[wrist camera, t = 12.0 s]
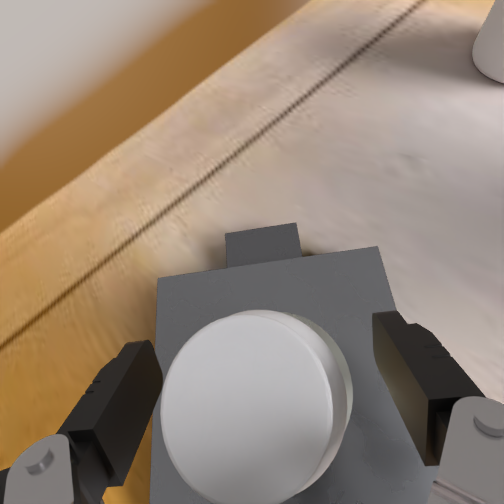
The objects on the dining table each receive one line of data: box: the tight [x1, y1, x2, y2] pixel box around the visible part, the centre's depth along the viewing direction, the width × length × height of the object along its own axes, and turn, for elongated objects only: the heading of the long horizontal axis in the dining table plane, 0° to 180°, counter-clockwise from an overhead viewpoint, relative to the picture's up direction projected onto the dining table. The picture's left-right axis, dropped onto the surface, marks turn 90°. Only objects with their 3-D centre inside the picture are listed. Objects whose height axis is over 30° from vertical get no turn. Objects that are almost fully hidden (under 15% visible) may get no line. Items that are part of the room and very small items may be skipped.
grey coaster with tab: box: [149, 223, 439, 504], centre depth 18 cm, size 17×14×3 cm
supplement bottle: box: [160, 310, 347, 504], centre depth 11 cm, size 5×5×10 cm
